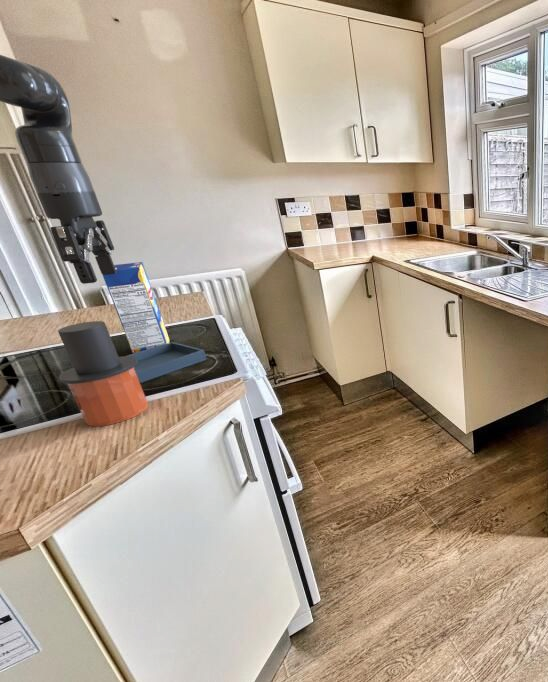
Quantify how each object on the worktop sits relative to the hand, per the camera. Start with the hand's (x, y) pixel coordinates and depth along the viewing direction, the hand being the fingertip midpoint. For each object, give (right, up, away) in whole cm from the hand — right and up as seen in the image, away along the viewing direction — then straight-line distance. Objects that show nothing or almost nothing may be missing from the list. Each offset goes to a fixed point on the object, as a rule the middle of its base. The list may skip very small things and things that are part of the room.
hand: (100, 278), depth 82 cm
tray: (-6, -19, +17) cm, 26 cm away
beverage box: (-15, -14, +30) cm, 37 cm away
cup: (+5, -26, -2) cm, 27 cm away
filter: (+5, -20, -4) cm, 21 cm away
